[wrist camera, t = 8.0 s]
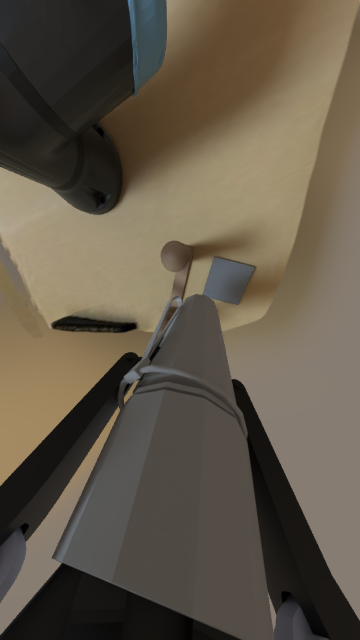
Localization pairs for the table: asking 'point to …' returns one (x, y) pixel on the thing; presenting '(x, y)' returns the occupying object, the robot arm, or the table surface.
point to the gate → (177, 261)
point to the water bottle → (177, 486)
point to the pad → (227, 280)
